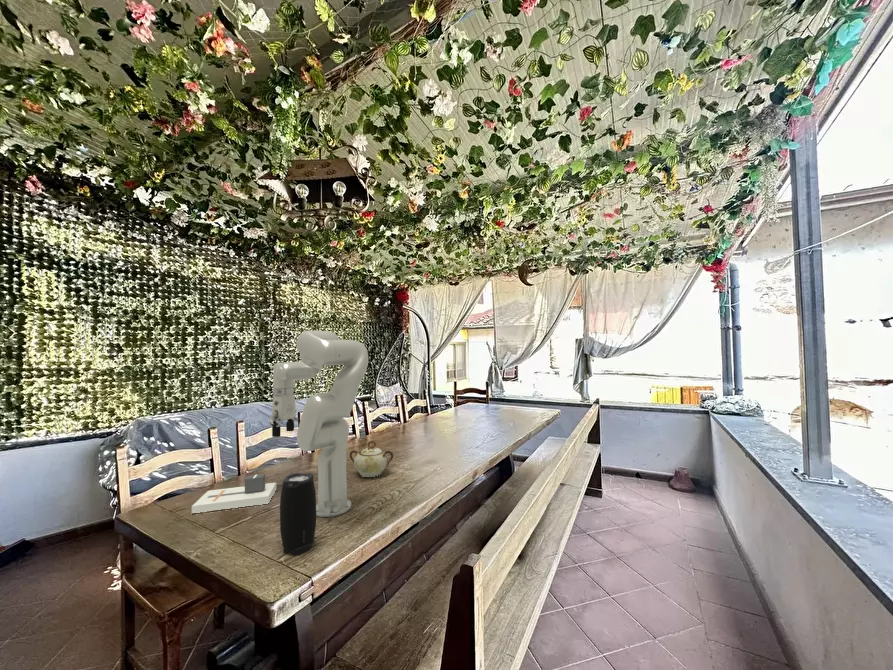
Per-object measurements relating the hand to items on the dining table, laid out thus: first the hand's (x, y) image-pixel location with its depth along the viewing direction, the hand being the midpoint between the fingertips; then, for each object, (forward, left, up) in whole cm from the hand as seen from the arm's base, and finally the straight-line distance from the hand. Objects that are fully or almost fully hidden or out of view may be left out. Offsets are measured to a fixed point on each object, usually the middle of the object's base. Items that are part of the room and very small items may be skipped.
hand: (283, 433), depth 139 cm
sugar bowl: (+3, -36, -22) cm, 42 cm away
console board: (-8, +14, -22) cm, 28 cm away
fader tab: (-8, +8, -19) cm, 22 cm away
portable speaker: (-49, -13, -22) cm, 55 cm away
